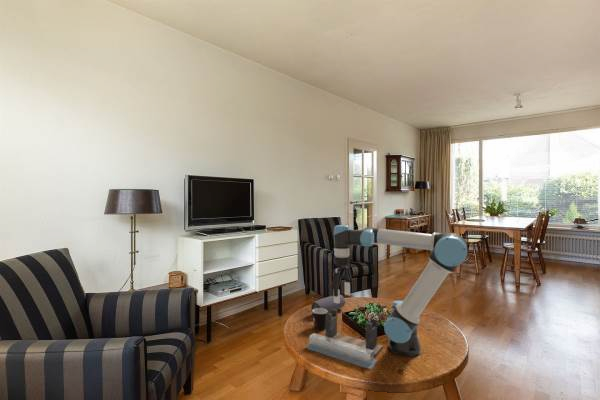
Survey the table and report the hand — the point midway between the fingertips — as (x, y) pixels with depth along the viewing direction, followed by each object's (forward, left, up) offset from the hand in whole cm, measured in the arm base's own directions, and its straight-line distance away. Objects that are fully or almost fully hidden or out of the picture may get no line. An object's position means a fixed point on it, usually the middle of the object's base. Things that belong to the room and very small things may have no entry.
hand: (342, 298), depth 154 cm
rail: (-2, +7, -24) cm, 25 cm away
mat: (-2, +7, -24) cm, 26 cm away
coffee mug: (+21, -14, -25) cm, 35 cm away
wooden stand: (-2, -5, -24) cm, 25 cm away
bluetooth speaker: (+27, -36, -25) cm, 51 cm away
